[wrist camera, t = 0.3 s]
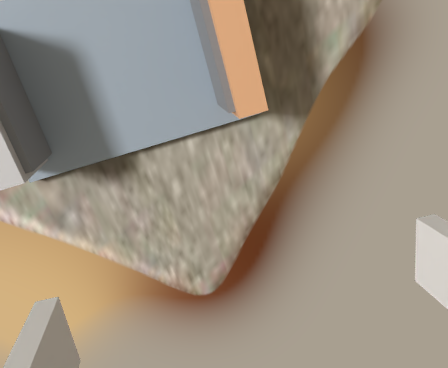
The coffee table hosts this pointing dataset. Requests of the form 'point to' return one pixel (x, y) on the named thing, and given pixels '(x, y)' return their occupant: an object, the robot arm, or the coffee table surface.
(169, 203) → the coffee table surface
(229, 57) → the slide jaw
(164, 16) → the base
